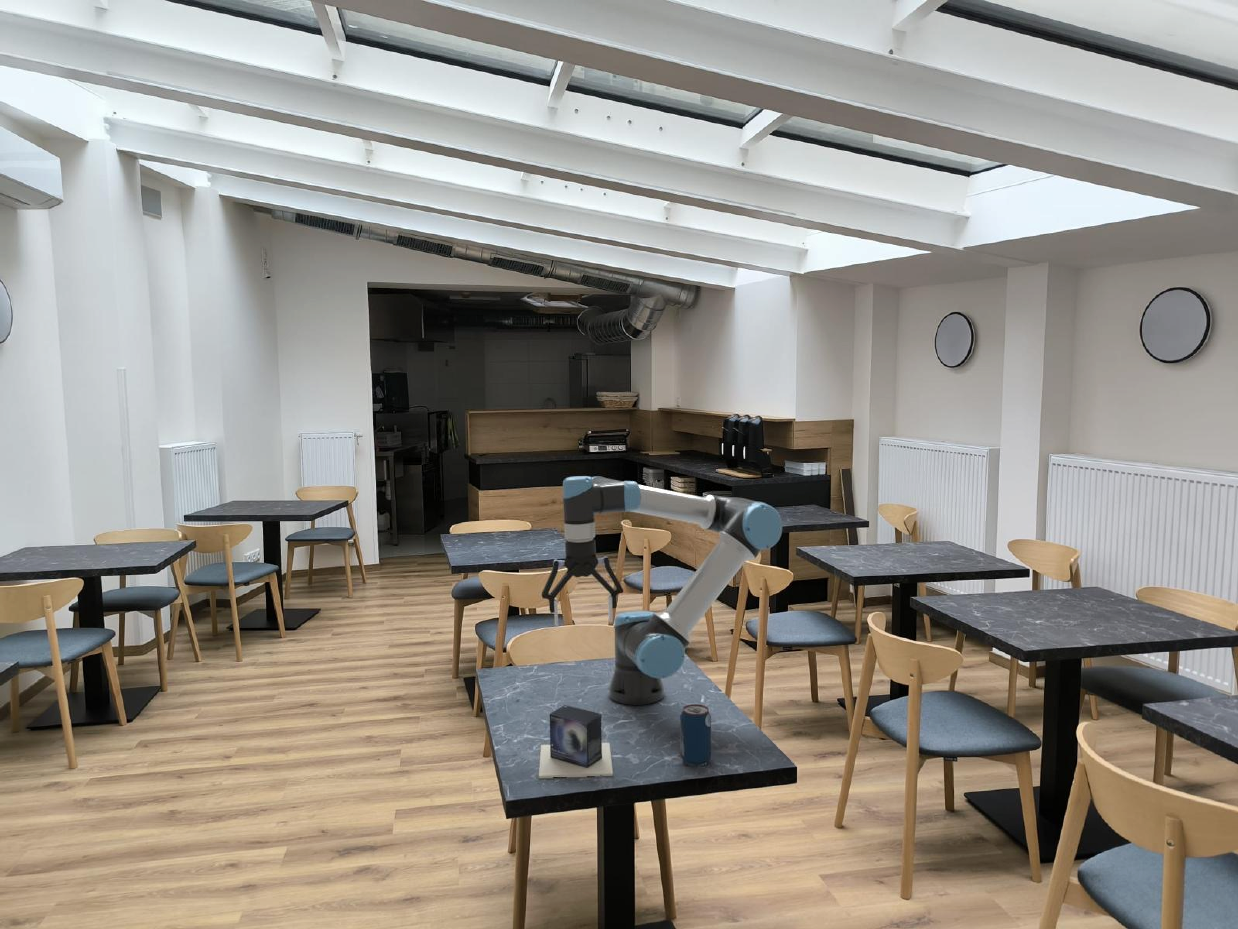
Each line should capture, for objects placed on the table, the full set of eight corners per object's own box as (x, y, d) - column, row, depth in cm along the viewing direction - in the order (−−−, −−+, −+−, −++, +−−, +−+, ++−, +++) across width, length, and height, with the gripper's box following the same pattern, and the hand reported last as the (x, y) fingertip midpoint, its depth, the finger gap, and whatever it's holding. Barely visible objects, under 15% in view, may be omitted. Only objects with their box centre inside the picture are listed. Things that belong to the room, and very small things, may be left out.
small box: (548, 758, 189) (547, 713, 188) (565, 748, 194) (564, 704, 194) (586, 769, 183) (586, 722, 182) (603, 758, 189) (602, 713, 188)
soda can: (717, 760, 188) (717, 708, 187) (697, 770, 184) (697, 717, 183) (693, 751, 193) (693, 701, 192) (674, 761, 188) (673, 709, 187)
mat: (609, 745, 197) (609, 742, 197) (612, 775, 181) (612, 773, 181) (541, 747, 196) (541, 745, 196) (538, 778, 180) (538, 775, 180)
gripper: (628, 533, 212) (631, 615, 214) (529, 539, 209) (533, 622, 211) (632, 538, 205) (635, 623, 207) (529, 545, 202) (534, 631, 204)
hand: (583, 623), depth 209 cm, fingers open, 13 cm apart
